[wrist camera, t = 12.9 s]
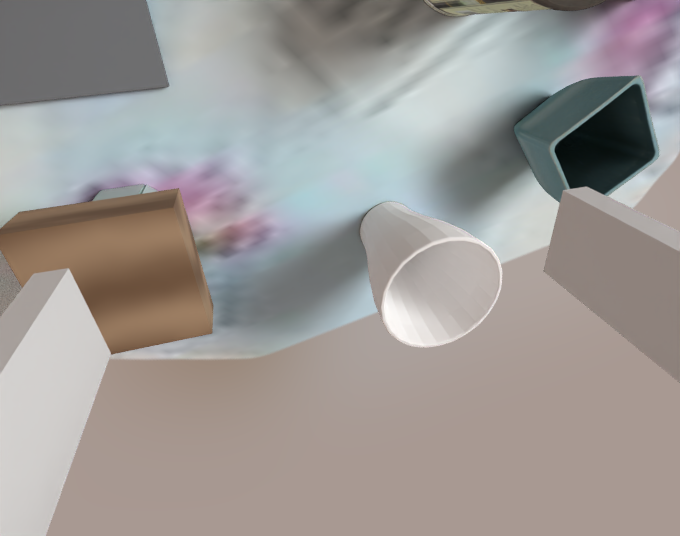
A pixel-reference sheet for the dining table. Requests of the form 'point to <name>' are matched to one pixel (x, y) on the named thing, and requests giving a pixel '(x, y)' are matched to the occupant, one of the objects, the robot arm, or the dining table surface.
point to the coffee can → (506, 6)
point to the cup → (427, 275)
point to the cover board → (120, 264)
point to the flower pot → (590, 135)
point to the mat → (76, 49)
